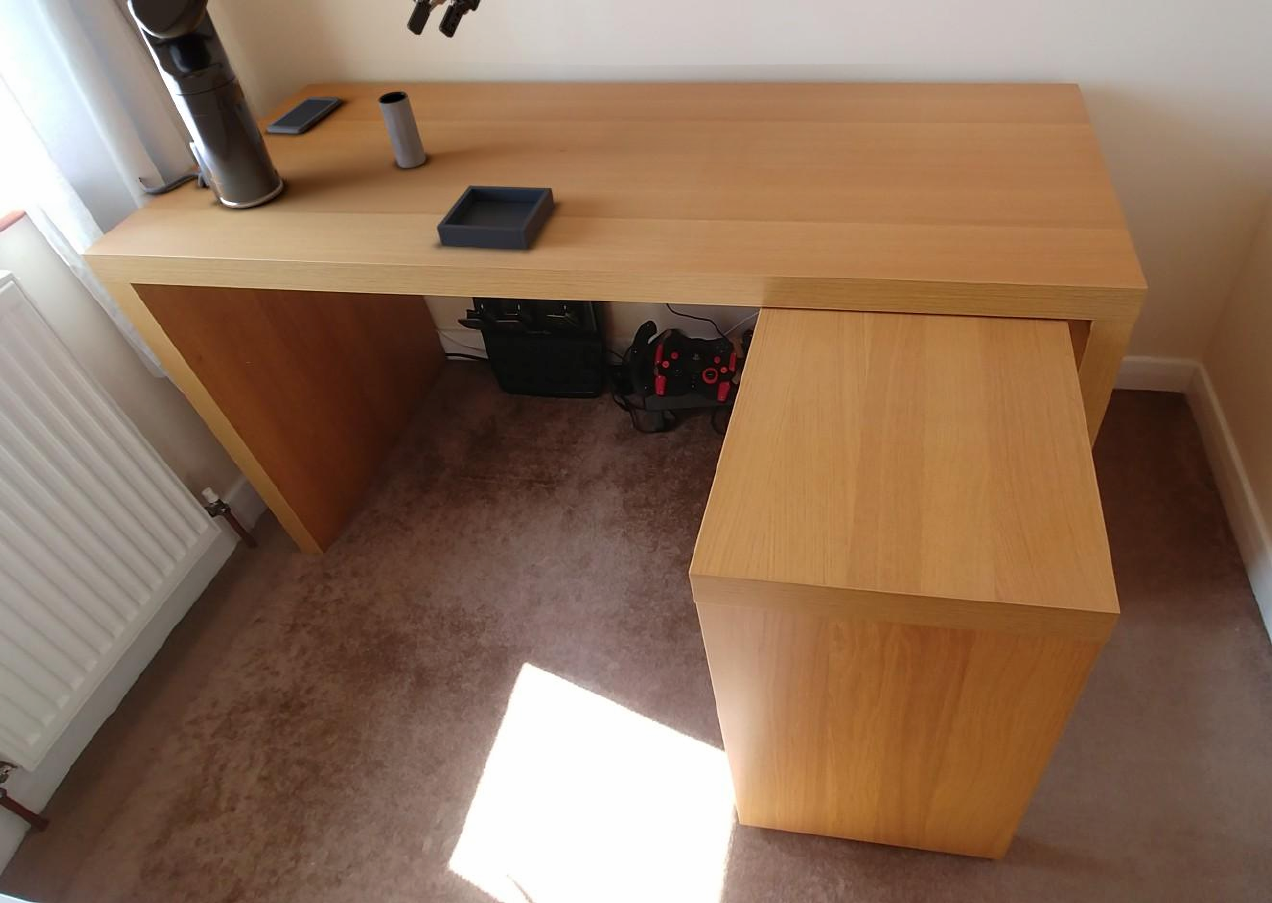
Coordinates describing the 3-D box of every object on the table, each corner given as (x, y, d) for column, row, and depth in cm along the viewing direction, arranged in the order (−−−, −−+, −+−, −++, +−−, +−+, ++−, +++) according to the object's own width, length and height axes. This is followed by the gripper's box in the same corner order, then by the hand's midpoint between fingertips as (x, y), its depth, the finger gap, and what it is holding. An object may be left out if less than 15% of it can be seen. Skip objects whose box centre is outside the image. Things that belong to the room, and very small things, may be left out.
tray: (441, 245, 113) (436, 227, 111) (473, 203, 121) (469, 185, 119) (527, 249, 110) (523, 230, 108) (554, 206, 118) (551, 187, 116)
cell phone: (343, 101, 154) (342, 97, 153) (300, 134, 144) (298, 130, 144) (310, 100, 156) (309, 96, 155) (266, 132, 147) (264, 128, 146)
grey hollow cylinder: (431, 160, 132) (413, 95, 125) (407, 171, 130) (386, 105, 123) (417, 152, 135) (398, 88, 128) (393, 163, 133) (372, 98, 126)
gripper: (429, -87, 121) (382, 14, 122) (486, -93, 112) (435, 17, 113) (466, -50, 127) (422, 47, 127) (523, -52, 118) (475, 51, 119)
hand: (428, 32), depth 120 cm, fingers open, 8 cm apart
